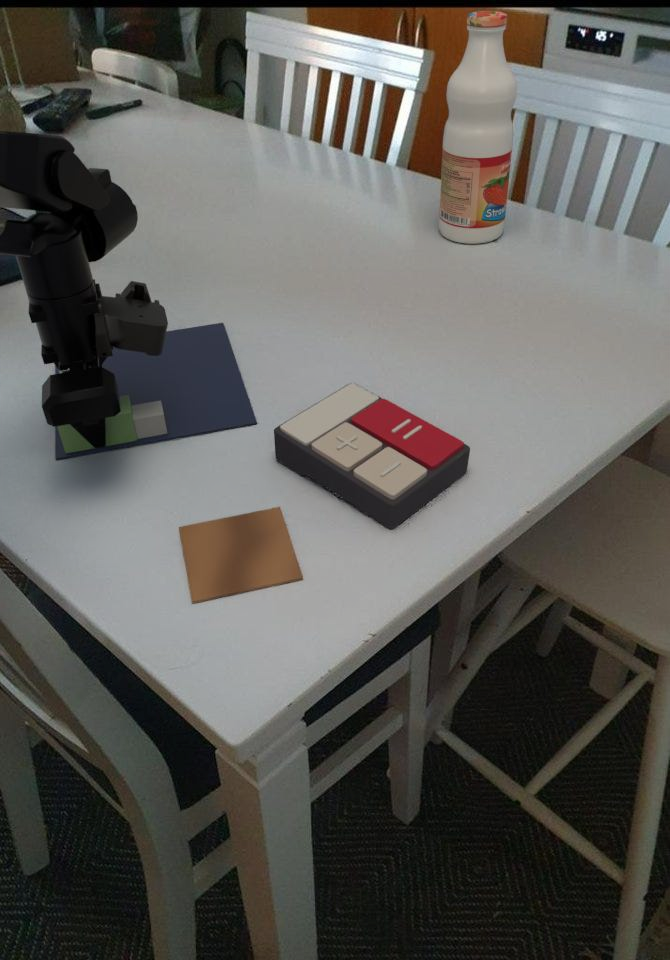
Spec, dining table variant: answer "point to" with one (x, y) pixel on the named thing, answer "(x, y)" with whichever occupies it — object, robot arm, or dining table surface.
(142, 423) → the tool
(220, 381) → the napkin
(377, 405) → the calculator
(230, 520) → the coaster
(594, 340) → the dining table surface
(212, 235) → the dining table surface
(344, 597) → the dining table surface
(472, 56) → the fruit juice
